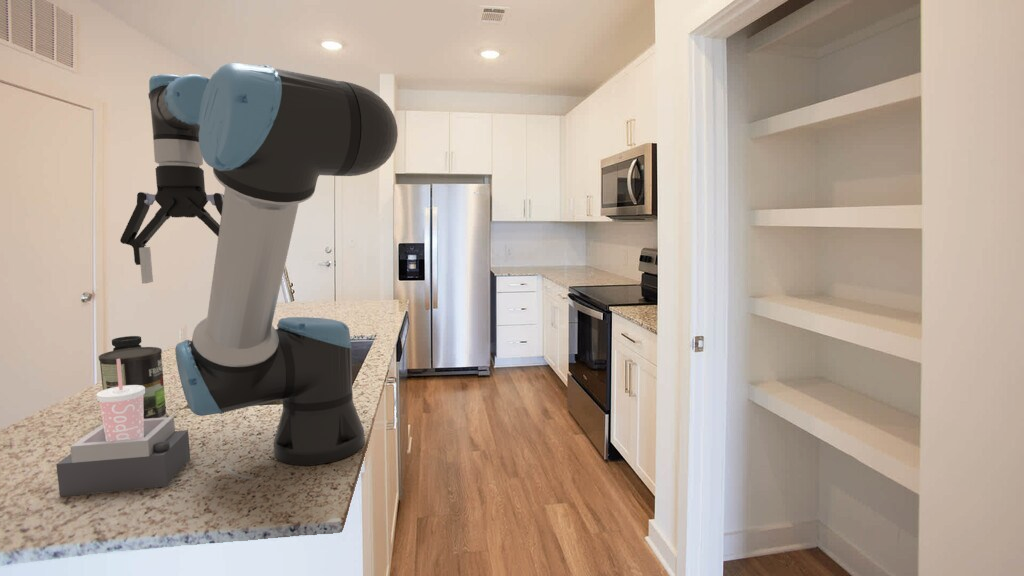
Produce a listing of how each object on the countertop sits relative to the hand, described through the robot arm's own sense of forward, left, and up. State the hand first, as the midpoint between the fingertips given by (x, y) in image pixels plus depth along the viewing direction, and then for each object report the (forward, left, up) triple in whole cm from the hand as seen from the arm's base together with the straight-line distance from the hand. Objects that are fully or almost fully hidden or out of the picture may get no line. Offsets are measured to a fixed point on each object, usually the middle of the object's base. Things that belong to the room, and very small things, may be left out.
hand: (188, 282), depth 101 cm
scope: (+21, -23, -29) cm, 42 cm away
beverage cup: (+4, +19, -24) cm, 31 cm away
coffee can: (+14, -8, -29) cm, 33 cm away
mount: (+4, +19, -29) cm, 35 cm away
